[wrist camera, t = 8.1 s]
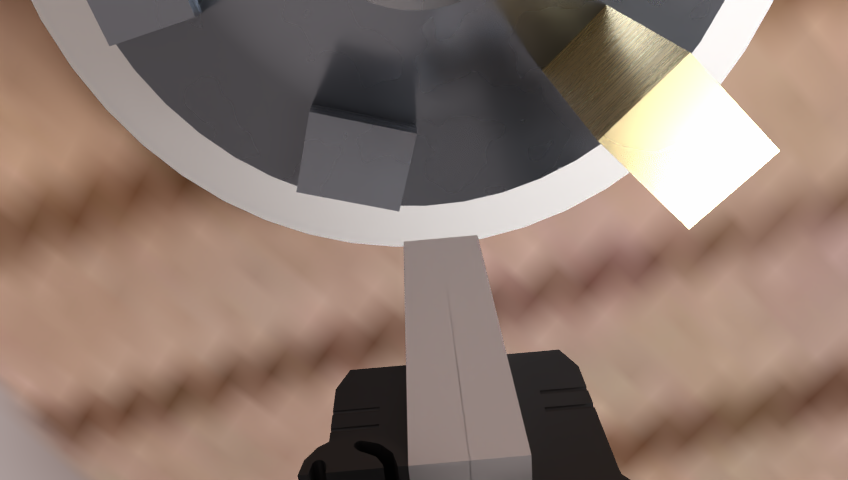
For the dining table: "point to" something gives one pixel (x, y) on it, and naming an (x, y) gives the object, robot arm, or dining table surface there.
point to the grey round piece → (446, 93)
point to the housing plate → (340, 220)
